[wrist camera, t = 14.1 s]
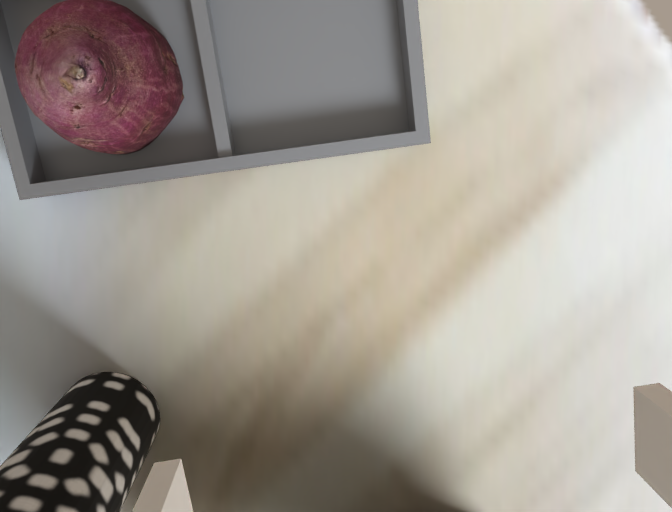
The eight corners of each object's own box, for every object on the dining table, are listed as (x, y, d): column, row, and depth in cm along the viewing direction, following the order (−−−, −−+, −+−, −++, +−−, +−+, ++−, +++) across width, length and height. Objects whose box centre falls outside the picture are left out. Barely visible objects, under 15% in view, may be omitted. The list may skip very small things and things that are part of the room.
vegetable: (199, 48, 44) (229, 2, 30) (156, 172, 44) (165, 184, 30) (57, -17, 40) (15, -105, 26) (11, 120, 40) (-54, 106, 27)
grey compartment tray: (420, 142, 44) (430, 143, 41) (41, 194, 43) (19, 199, 40) (401, -66, 41) (409, -83, 37) (-11, -13, 40) (-40, -26, 37)
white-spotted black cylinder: (72, 360, 47) (-93, 526, 27) (170, 386, 48) (78, 564, 28) (52, 446, 48) (-119, 661, 29) (147, 469, 49) (44, 692, 30)
